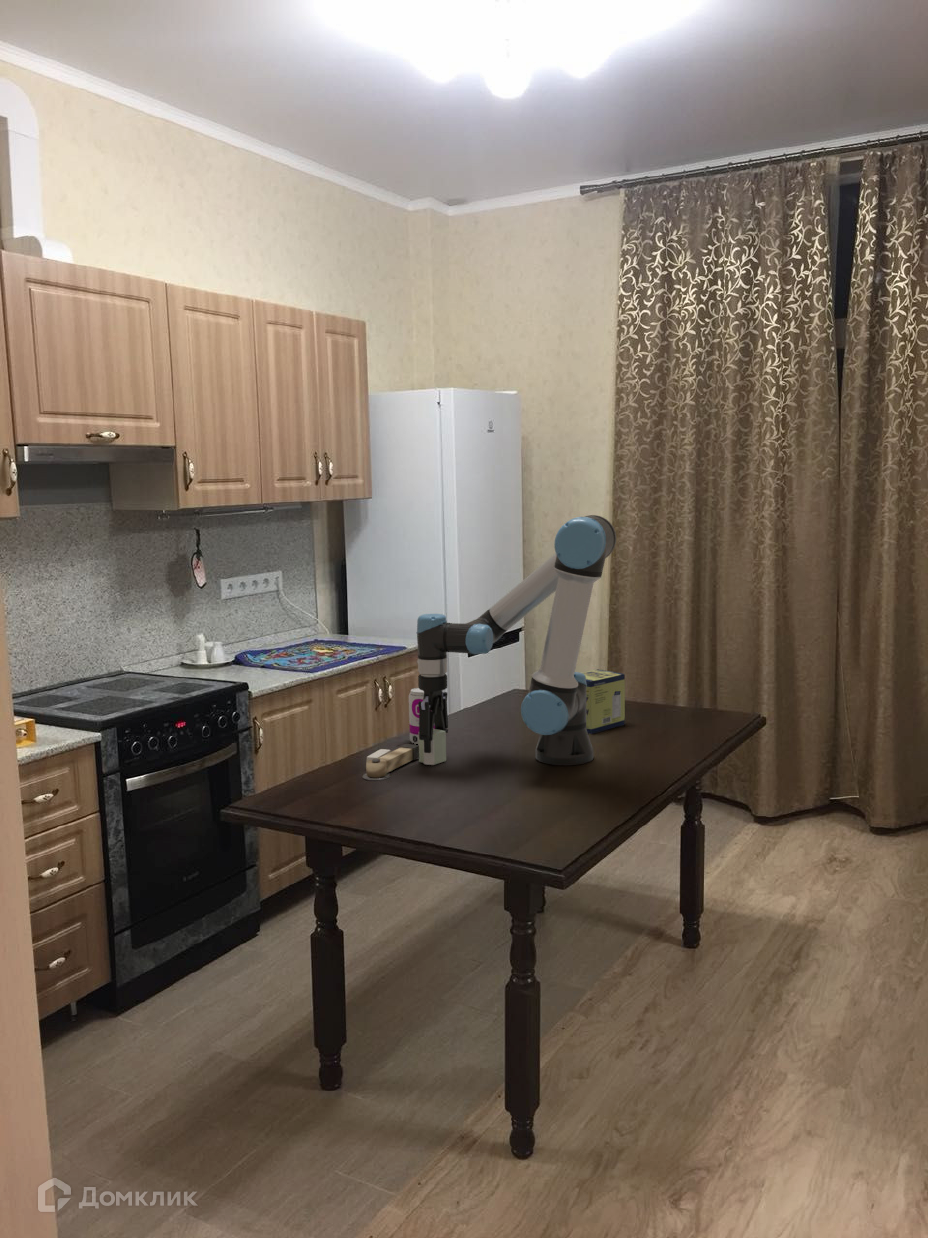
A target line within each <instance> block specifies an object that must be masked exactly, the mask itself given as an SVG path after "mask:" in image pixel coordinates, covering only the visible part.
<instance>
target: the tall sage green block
mask: <svg viewBox="0 0 928 1238" xmlns="http://www.w3.org/2000/svg"><path fill="white" fill-rule="evenodd" d="M432 740H434V757H435V764H434V765H438V764H440V763H443V762H446V761H447V737H446V731H443V730H438V729H433V738H432ZM418 759H419V760H418V761H419V763H423V764H424V746H423V740H420V739H419V758H418ZM434 765H433V766H434Z"/></svg>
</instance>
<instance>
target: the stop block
mask: <svg viewBox="0 0 928 1238" xmlns="http://www.w3.org/2000/svg"><path fill="white" fill-rule="evenodd" d="M390 752H392V750H391V749H384V748H380V749H378V750H377V751H375V752H373V753H371V754H369V755H368V756H366V762H367V761H369V760H372V759H378V758H380V757H382V756H384V755H386V754H388V753H390Z"/></svg>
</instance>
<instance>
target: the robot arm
mask: <svg viewBox="0 0 928 1238" xmlns="http://www.w3.org/2000/svg"><path fill="white" fill-rule="evenodd" d="M616 533H617V532H616V529H615V527H614V525H613V524H612V523H611V522H610V521H609V520H608V519H607V518H605V517H604V516H600V515H595V514H592V515H585V516H577V517H573V518H571V519H569V520H568V521H566V522H565V523H564V524H563V525H562V526H561V527H560V528H559V529H558V530H557V533H556V534H555V538H554V546H553V547H554V551H555V553H554V554H552V555H551V556H550V557H549V558H548V559H547V560H545V561H544V562H542V564H541V565H540V566H538V567H537V568H536V569H535V570H534V571H532V572H531V573H530V574H529V575H528V576H527V577H525V578H524V579H523V580H521V581H520V582H519V583H518V584H517V585H516V586H514V587H513V588H512V589H511V590H510V591H509V592H508V593H507V592H506V594H505V595H504V596H502V597H501V598H500V599H499V600H498V601H496V603H494V604H493V605H492V606H491V607H490V608H488V609H487V610H486V611H485V612H483V613H482V614H481V615H480V616H479V617H477V618H476V619H473V620H472V621H468V622H466V623H455V622H454V623H453V622H448V620H447V616H446V615H445V614H442V613H425V614H421V615H420V616H418V617H417V619H416V620H417V621H416V623H417V626H416V627H417V628H416V636H417V637H416V641H417V642H416V643H417V660H416V664H417V668H418V671H417V672H418V674H419V675H418V677H417V682H418V687H417V688H419V689H420V690H423V691H424V697H423V702H420V701H419V703H418V705H419V739H420V740H423V746H424V763H423V765H429V766H430V765H431V766H434V764H435V757H434V740H432V738H433V728H434V725H435V729H438V730H443V731H446V733H449V729H448V728H449V721H448V720H449V719H448V717H449V716H448V715H449V714H448V692H447V691H446V692H445V691H444V690H446V689H447V688H448V675H447V674H446V673H448V654H447V653H459V654H472V655H479V654H481V655H482V654H483V655H484V654H489V653H490V652H491V649H492V648H493V644H495V643H496V642H498V641H499V640H500V639H501V638H502V636H503V635H504V634H505V633H507V632H508V630H510V629H511V628H512V627H513V626H514V625H516V624H518V623H519V622H520V621H521V620H522V619H524V617H526V616H527V615H528V614H529V613H531V611H533V610H535V608H536V607H538V606H539V605H540V604H541V603H543V602H544V601H546V600H547V598H549V597H550V596H551V595H552V594H554V598H553V603H552V608H551V612H550V618H549V622H548V627H547V631H546V632H547V633H546V637H545V642H544V646H543V651H542V657H541V660H540V666H539V669H538V670H536V671H534V672H533V673H532V674H531V680H530V684H529V689H528V693H527V694H526V695H525V696H524V698H523V701H522V702H521V705H520V706H521V707H520V714H521V718H522V720H523V723H524V724H525V725H526V727H527V728H528V729H529V730H530V731H532V732H533V733H536V734H539V738H538V741H537V744H536V747H535V760H536V761H538V762H541V763H543V764H548V765H554V766H577V765H582V764H587V763H590V762H592V761H593V759H594V748H593V745H592V742H591V738H590V734H589V733H588V732H587V728H586V687H587V684H586V676H585V675H584V674H583V673H584V672H579V671H576V667H577V662H578V658H579V652H580V648H581V644H582V639H583V635H584V630H585V625H586V620H587V617H588V611H589V608H590V607H589V606H590V602H591V597H592V591H593V587H594V584H595V583H596V582H597V581H598V580H599V579H602V574H603V572H604V567H605V561H606V558H608V557H609V556H611V554H612V553H613V551H614V550H615V548H616V545H617V544H616V543H617V534H616ZM430 710H432V711H430ZM435 765H436V764H435Z"/></svg>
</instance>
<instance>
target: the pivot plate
mask: <svg viewBox="0 0 928 1238" xmlns="http://www.w3.org/2000/svg"><path fill="white" fill-rule="evenodd" d="M391 776H392V775H391V773H390V772H388V773H387V774H386V775H385V776H382V777H369V776H367V772H365V773H364V774H363V775H362V779H364V780H366V781H367V780H368V781H383V780H388V779H389V778H391Z"/></svg>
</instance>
